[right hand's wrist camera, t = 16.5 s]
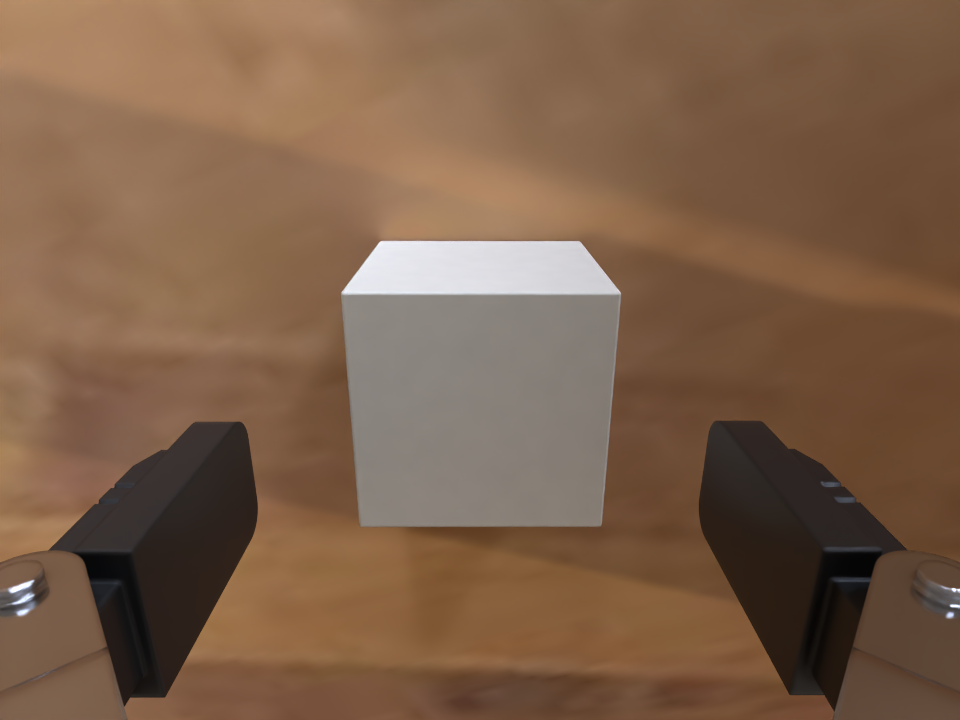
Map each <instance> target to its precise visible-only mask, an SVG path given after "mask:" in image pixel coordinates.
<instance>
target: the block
mask: <svg viewBox="0 0 960 720" xmlns="http://www.w3.org/2000/svg"><path fill="white" fill-rule="evenodd" d="M620 302H621V293H620V291H619V290H618V289H617V287H616V286H615V285H614V284H613V282H612V281H611V280H610V279H609V277H608V276H607V275H606V274H605V272H604V271H603V270H602V269H601V267H600V266H599V265H598V264H597V262H596V261H595V260H594V258H593V257H592V256H591V255H590V253H589V252H588V251H587V250H586V248H585V247H584V246H583V245H582V243H581V242H579V241H381V242H379V244H378V245H377V246H376V247H375V249H374V250H373V251H372V253H371V254H370V255H369V257H368V258H367V259H366V261H365V262H364V263H363V265H362V266H361V267H360V269H359V270H358V271H357V273H356V274H355V275H354V277H353V278H352V279H351V281H350V282H349V283H348V285H347V286H346V287H345V288H344V290H343V291H342V293H341V303H342V315H343V328H344V340H345V352H346V365H347V377H348V389H349V402H350V414H351V426H352V439H353V451H354V464H355V476H356V488H357V501H358V513H359V524H360V526H361V527H600V526H601V524H602V515H603V503H604V491H605V480H606V468H607V456H608V444H609V432H610V421H611V409H612V397H613V385H614V373H615V361H616V350H617V338H618V326H619V314H620Z"/></svg>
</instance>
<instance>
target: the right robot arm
mask: <svg viewBox="0 0 960 720" xmlns="http://www.w3.org/2000/svg"><path fill="white" fill-rule="evenodd" d="M257 514H258V503H257V495H256V488H255V481H254V474H253V467H252V460H251V453H250V446H249V439H248V434H247V430H246V428H245V426H244V424H243V423H241V422H195V423H193V424H192V425H191V426H190V427H189V428H188V429H187V430H186V431H185V432H184V433H183V434H182V435H181V436H180V437H179V438H178V439H177V441H176V442H175V443H174V444H173V445H172V446H171V447H170V448H169V449H168V450H161V451H159V452H157V453H155V454H154V455H152V456H150V457H148V458H147V459H145V460H143V461H141V462H139V463H138V464H136V465H134V466H133V467H132V468H131V469H130V470H129V471H128V472H127V473H126V474H125V475H124V476H123V477H122V478H121V479H120V480H119V481H118V482H117V483H116V484H115V487H114V488H111V489H110V490H109V491H108V492H107V493H106V494H105V495H104V496H103V497H102V498H101V499H100V500H99V504H95V505H94V506H93V507H92V508H91V509H90V510H89V511H88V512H87V513H86V514H85V515H84V516H83V517H82V518H81V519H80V520H78V521H77V522H76V523H75V524H74V525H73V526H72V527H71V528H70V529H69V530H68V531H67V532H66V533H65V534H64V535H63V536H62V537H61V538H60V539H59V540H58V541H57V542H56V543H55V544H54V545H53V546H52V547H51V548H50V549H49V550H48V551H40V552H34V553H29V554H24V555H21V556H17V557H14V558H11V559H8V560H6V561H3V562H0V720H127V716H126V713H125V709H124V707H125V705H126V703H127V702H128V700H129V698H130V697H166V695H167V693H168V691H169V689H170V687H171V686H172V684H173V682H174V680H175V678H176V676H177V675H178V673H179V671H180V669H181V667H182V665H183V664H184V662H185V660H186V658H187V656H188V654H189V653H190V651H191V649H192V647H193V645H194V643H195V642H196V640H197V638H198V636H199V634H200V632H201V631H202V629H203V627H204V625H205V623H206V621H207V620H208V618H209V616H210V614H211V612H212V610H213V609H214V607H215V605H216V603H217V601H218V599H219V598H220V596H221V594H222V592H223V590H224V588H225V587H226V585H227V583H228V581H229V579H230V577H231V576H232V574H233V572H234V570H235V568H236V566H237V565H238V563H239V561H240V559H241V557H242V555H243V554H244V552H245V550H246V548H247V546H248V544H249V543H250V541H251V539H252V537H253V534H254V531H255V527H256V522H257ZM699 517H700V523H701V528H702V531H703V534H704V536H705V539H706V540H707V542H708V544H709V546H710V548H711V550H712V552H713V553H714V555H715V557H716V559H717V561H718V563H719V565H720V566H721V568H722V570H723V572H724V574H725V576H726V578H727V579H728V581H729V583H730V585H731V587H732V589H733V591H734V592H735V594H736V596H737V598H738V600H739V602H740V604H741V605H742V607H743V609H744V611H745V613H746V615H747V617H748V618H749V620H750V622H751V624H752V626H753V628H754V629H755V631H756V633H757V635H758V637H759V639H760V641H761V642H762V644H763V646H764V648H765V650H766V652H767V654H768V655H769V657H770V659H771V661H772V663H773V665H774V667H775V668H776V670H777V672H778V674H779V676H780V678H781V680H782V681H783V683H784V685H785V687H786V689H787V691H788V693H789V694H790V695H825V697H826V698H827V700H828V702H829V703H830V705H831V707H832V708H833V710H834V716H833V720H960V562H957V561H954V560H952V559H949V558H946V557H943V556H939V555H936V554H931V553H926V552H920V551H909V550H907V549H906V548H905V547H904V546H903V545H902V544H901V543H900V542H899V541H898V540H897V539H896V538H895V537H894V536H893V535H892V534H891V533H890V532H889V531H888V530H887V529H886V528H885V527H884V526H883V525H882V524H881V523H880V522H879V521H878V520H877V519H876V518H875V517H874V516H873V515H872V514H871V513H870V512H869V511H868V510H867V509H866V508H865V507H864V506H863V505H862V504H861V503H857V502H856V498H855V497H854V496H853V495H852V494H851V493H850V492H849V491H848V490H847V489H846V488H845V487H841V483H840V482H839V481H838V480H837V479H836V478H835V477H834V476H833V475H832V474H831V473H830V472H829V471H828V470H827V469H826V468H825V467H824V466H823V465H822V464H820V463H818V462H817V461H815V460H813V459H811V458H810V457H808V456H806V455H804V454H802V453H801V452H799V451H797V450H795V449H788V448H787V447H786V446H785V445H784V444H783V443H782V442H781V441H780V440H779V439H778V437H777V436H776V435H775V434H774V433H773V432H772V431H771V430H770V429H769V428H768V427H767V426H766V425H765V424H764V423H763V422H761V421H715V422H714V423H713V424H712V426H711V428H710V431H709V435H708V442H707V449H706V456H705V463H704V470H703V477H702V484H701V491H700V498H699Z"/></svg>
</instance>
